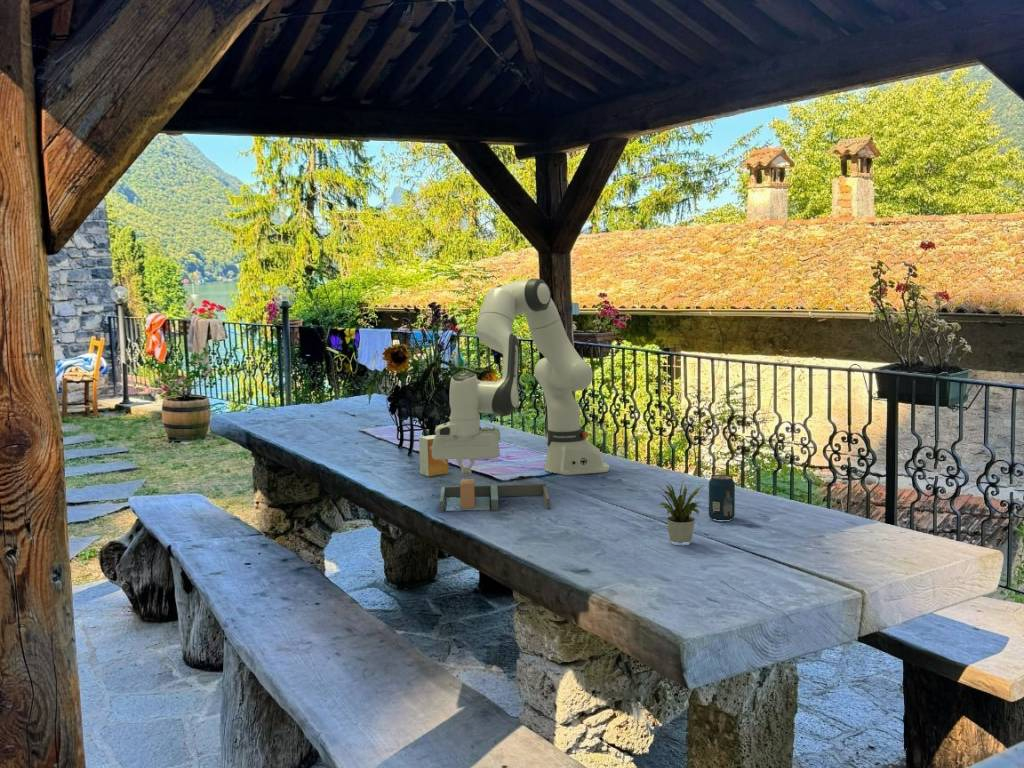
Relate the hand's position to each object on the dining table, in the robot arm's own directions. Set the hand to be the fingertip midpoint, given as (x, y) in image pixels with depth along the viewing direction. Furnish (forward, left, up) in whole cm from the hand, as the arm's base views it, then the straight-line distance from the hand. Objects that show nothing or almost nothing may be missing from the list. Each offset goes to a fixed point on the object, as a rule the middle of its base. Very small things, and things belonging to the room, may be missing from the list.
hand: (466, 473), depth 276 cm
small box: (+12, -43, -10) cm, 46 cm away
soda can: (-70, +25, -10) cm, 75 cm away
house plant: (-53, +45, -10) cm, 70 cm away
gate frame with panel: (-8, 0, -10) cm, 13 cm away
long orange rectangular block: (0, 0, -9) cm, 9 cm away
